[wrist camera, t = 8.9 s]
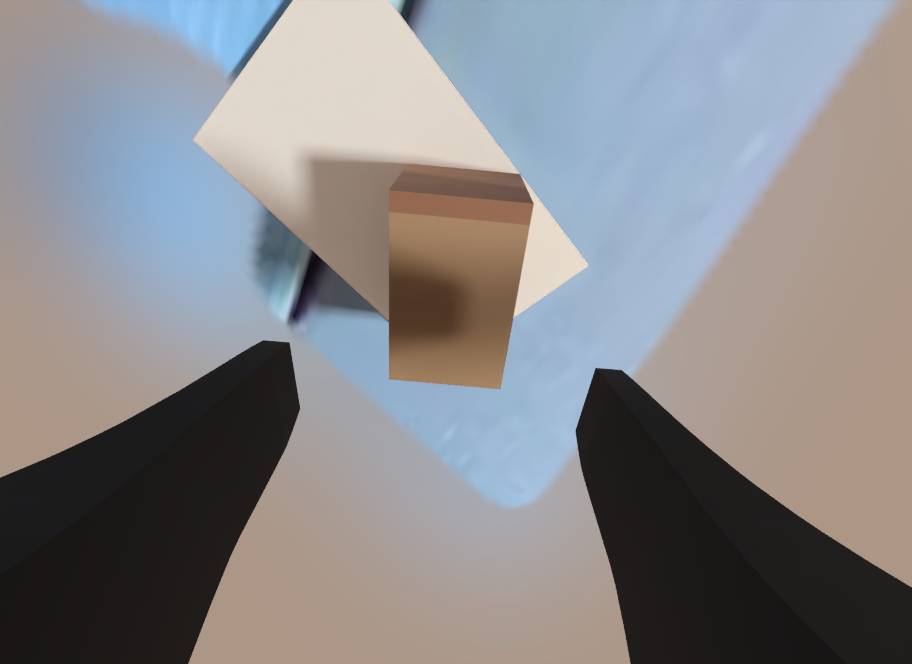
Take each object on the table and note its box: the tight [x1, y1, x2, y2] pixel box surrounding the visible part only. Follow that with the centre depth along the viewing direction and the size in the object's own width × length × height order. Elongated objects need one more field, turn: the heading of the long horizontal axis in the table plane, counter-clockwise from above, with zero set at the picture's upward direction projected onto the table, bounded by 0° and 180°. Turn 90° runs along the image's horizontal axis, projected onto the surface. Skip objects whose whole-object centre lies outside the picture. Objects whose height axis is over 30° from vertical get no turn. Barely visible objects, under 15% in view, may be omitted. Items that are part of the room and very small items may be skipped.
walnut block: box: [389, 164, 534, 389], centre depth 15 cm, size 7×4×4 cm, turn 175°
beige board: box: [193, 0, 589, 321], centre depth 16 cm, size 13×8×1 cm, turn 41°
